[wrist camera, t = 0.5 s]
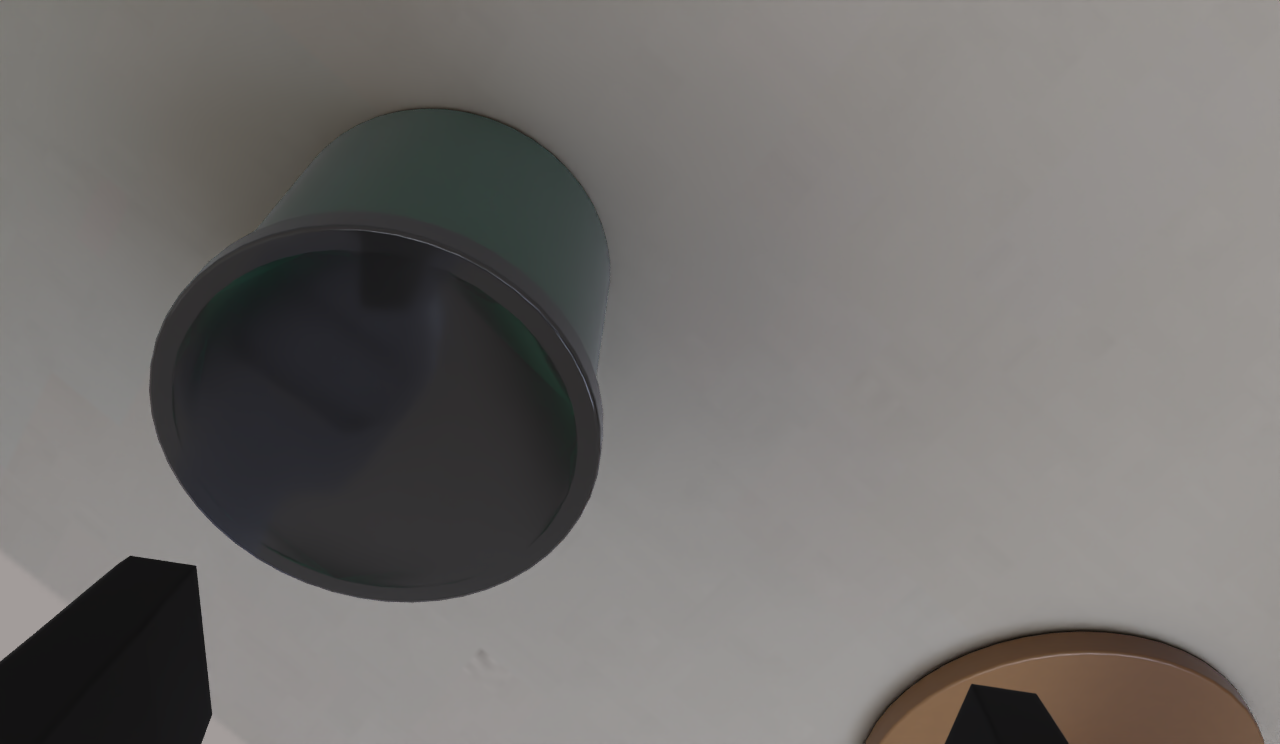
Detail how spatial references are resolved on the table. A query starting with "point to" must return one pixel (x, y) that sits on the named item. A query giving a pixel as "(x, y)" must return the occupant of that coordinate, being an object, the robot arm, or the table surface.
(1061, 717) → the coaster
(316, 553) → the pot
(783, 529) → the table surface
